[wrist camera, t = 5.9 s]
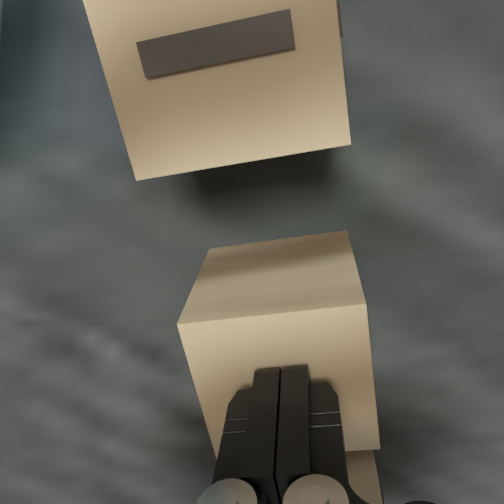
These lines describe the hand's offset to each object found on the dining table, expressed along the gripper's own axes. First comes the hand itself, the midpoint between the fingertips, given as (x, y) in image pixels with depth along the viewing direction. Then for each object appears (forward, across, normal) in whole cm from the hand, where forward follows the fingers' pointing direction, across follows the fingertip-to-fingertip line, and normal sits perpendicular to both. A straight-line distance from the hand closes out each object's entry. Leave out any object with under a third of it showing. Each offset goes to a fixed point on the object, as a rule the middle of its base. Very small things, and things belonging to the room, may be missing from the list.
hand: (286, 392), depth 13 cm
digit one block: (+5, 0, -9) cm, 10 cm away
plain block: (+5, 0, 0) cm, 5 cm away
